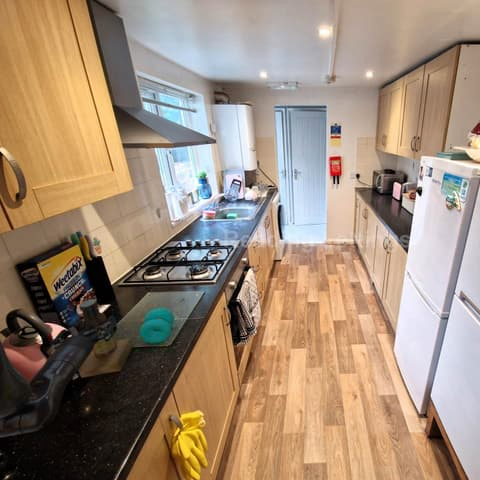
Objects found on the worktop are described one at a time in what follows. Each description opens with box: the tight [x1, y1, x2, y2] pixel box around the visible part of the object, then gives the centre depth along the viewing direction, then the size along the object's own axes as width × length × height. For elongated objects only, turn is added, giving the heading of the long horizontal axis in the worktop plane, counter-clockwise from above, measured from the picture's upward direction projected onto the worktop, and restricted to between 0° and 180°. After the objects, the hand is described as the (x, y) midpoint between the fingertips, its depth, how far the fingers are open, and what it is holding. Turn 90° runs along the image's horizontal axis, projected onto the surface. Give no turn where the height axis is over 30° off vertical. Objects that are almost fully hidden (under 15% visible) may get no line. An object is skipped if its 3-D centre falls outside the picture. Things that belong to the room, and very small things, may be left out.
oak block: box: [77, 337, 134, 379], centre depth 90 cm, size 11×11×4 cm
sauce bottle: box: [78, 298, 117, 357], centre depth 86 cm, size 7×6×20 cm
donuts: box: [139, 307, 175, 344], centre depth 100 cm, size 10×10×10 cm
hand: (97, 319), depth 86 cm, fingers open, 8 cm apart
